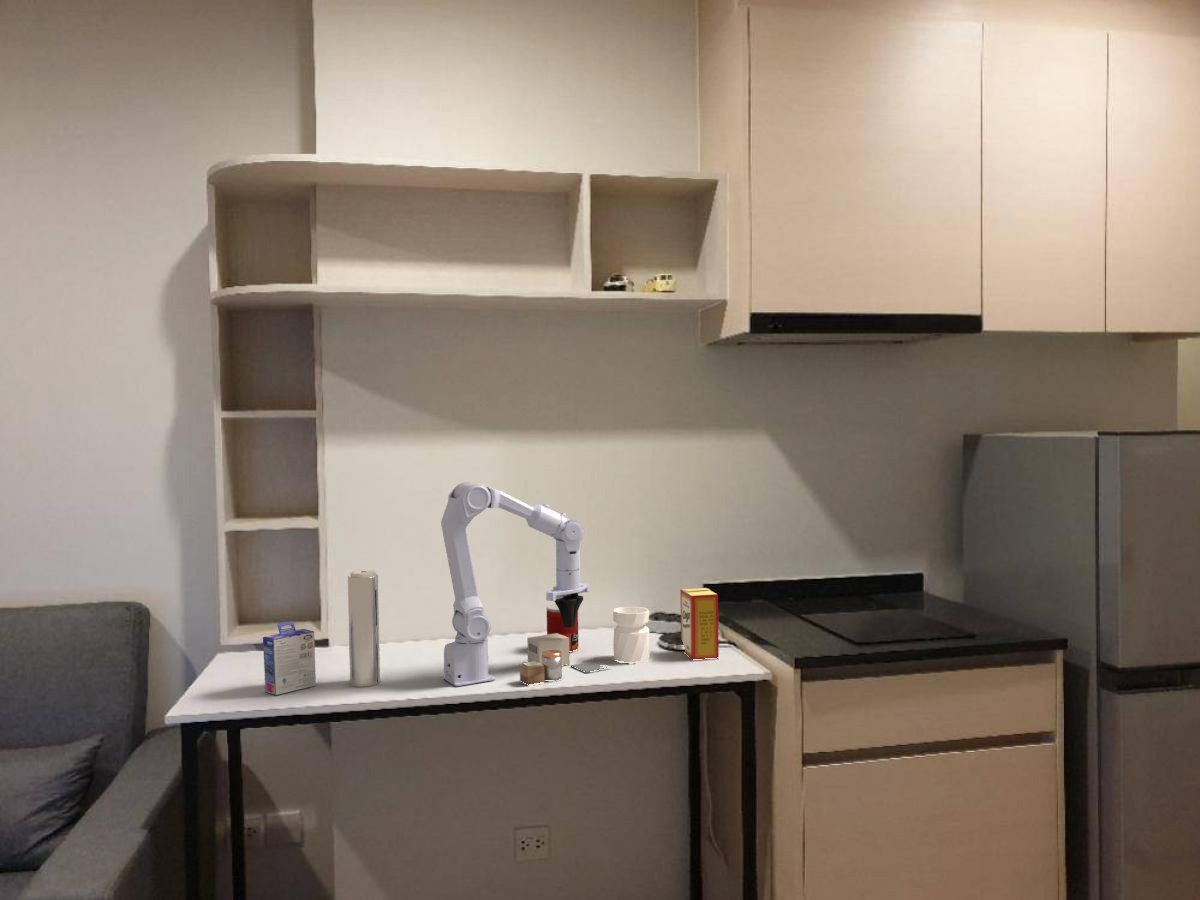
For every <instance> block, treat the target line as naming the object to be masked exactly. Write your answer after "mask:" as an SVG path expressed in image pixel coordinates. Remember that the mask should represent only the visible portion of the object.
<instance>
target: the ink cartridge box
mask: <svg viewBox="0 0 1200 900" xmlns="http://www.w3.org/2000/svg"><path fill="white" fill-rule="evenodd" d="M284 626H291V627H287V628H283V627H284ZM277 628H278V633H276V634H271V635H265V636H262V648H263V649H262V651H263V665H264V667H263V668H264V671H263V672H264V686H265V687H264V689H265V690H264V691H266V693H268V694H270V693H271V694H270V695H273V696H279V695H282V694H287V693H290V692H291V693H292V692H295V691H299V690H304V689H307V688H311V687H315V686H317V681H316V652H315V651H316V650H315V631H314V630H309V629H306V628H300V629H296V627H295V624H294V621H293V620H290V621H285V622H284V621H282V622H279V623H277Z"/></svg>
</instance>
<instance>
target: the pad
mask: <svg viewBox="0 0 1200 900" xmlns="http://www.w3.org/2000/svg"><path fill="white" fill-rule="evenodd" d="M596 661H597V660H595V661H587V662H581V663H576V664H571V665H570V667H571V666H573V667H576V668H578V669H580V670H582V671H585V672H590V671H594V670H599V669H604V668H600V667H603V666H600V665H604V664H605V663H603V664H601V663H602V662H600V661H598V662H596ZM599 662H600V663H599ZM606 668H607V667H606Z"/></svg>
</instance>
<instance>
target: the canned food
mask: <svg viewBox="0 0 1200 900" xmlns="http://www.w3.org/2000/svg"><path fill="white" fill-rule="evenodd" d="M555 633H558V634H560V635H563V636H566V637H568V638H569V651H573V650H576V649H579V611H578V612H577V616H576V620H575V624H574V627H571V628H569V627H564V625H563V621H562V617H561V614H560V611H559V609H558V607H557V605H556V603H555V604H550V605H548V606H547V607H546V635H548V634H555Z"/></svg>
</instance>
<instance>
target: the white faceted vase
mask: <svg viewBox="0 0 1200 900" xmlns="http://www.w3.org/2000/svg"><path fill="white" fill-rule="evenodd" d="M612 617H613V618H612V620H613V622H614V623H616V624H617V626H616V627H614V628H613V660H614V659H615V660H618V661H624V662H636V661H644V660H647V659H648V658H649V657H650V628H649V627H647V626H646V624H647V623H648V622H650V609H648V607H647V608H646V607H641V606H621V607H616V608H613V613H612ZM650 658H651V657H650ZM650 658H649V659H650ZM615 660H614V661H615Z"/></svg>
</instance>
